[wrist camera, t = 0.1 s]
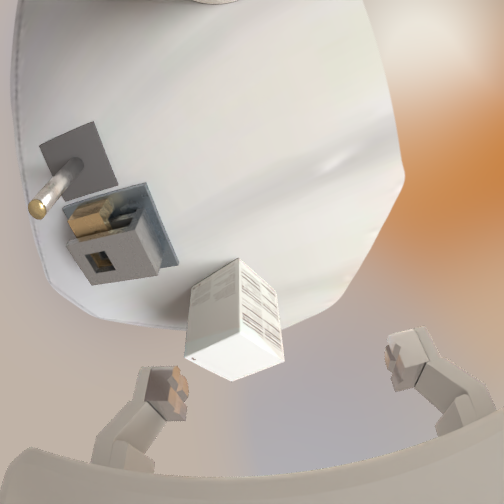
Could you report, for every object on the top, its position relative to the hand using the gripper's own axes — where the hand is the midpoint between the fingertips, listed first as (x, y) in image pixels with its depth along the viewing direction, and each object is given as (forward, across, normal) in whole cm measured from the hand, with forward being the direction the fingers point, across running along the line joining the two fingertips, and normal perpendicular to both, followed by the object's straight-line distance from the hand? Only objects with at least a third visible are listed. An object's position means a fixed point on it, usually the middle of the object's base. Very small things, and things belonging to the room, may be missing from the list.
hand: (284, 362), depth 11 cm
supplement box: (+42, +10, +33) cm, 55 cm away
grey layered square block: (+40, +28, +14) cm, 51 cm away
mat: (+39, +30, -2) cm, 49 cm away
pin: (+38, +30, -2) cm, 49 cm away
